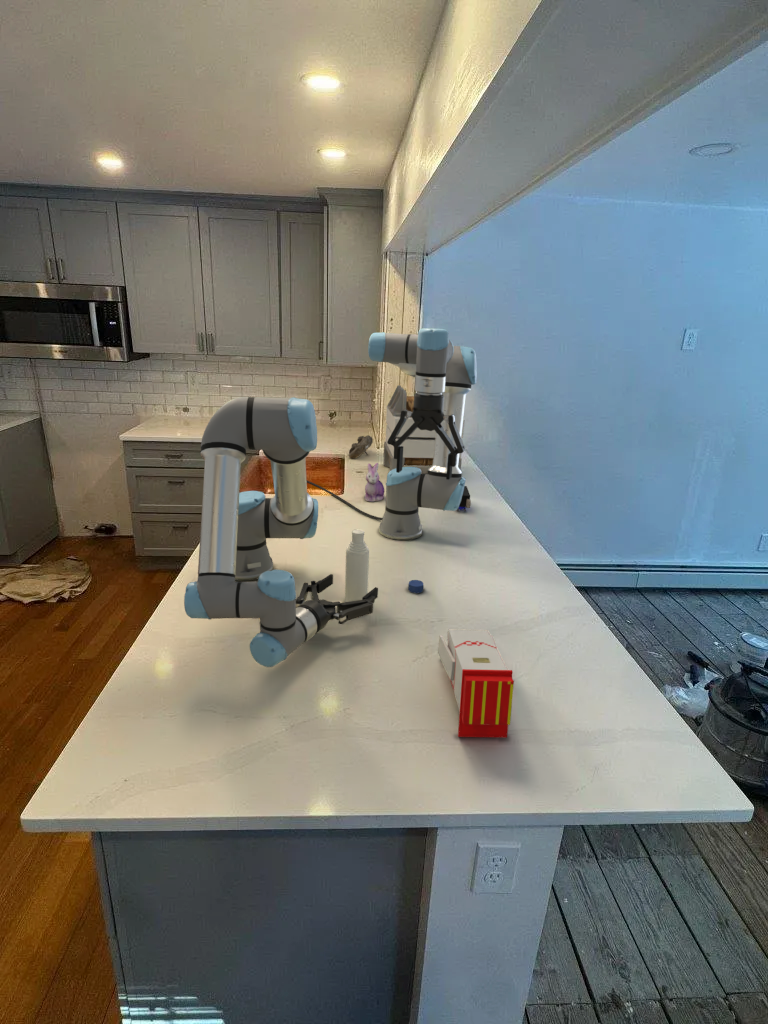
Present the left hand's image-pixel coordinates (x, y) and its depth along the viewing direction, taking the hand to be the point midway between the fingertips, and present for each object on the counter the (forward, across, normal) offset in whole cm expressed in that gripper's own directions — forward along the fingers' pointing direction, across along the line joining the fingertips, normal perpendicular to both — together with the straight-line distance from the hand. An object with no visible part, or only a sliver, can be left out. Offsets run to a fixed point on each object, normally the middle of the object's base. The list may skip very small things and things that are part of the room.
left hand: (353, 585), depth 147 cm
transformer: (+129, -41, -7) cm, 136 cm away
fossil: (+142, -82, -6) cm, 164 cm away
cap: (+18, +10, -5) cm, 21 cm away
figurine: (+82, -40, -7) cm, 91 cm away
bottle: (+2, 0, -7) cm, 7 cm away
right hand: (+18, +10, +27) cm, 34 cm away
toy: (-17, +39, -7) cm, 43 cm away
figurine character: (+93, -6, -7) cm, 93 cm away
